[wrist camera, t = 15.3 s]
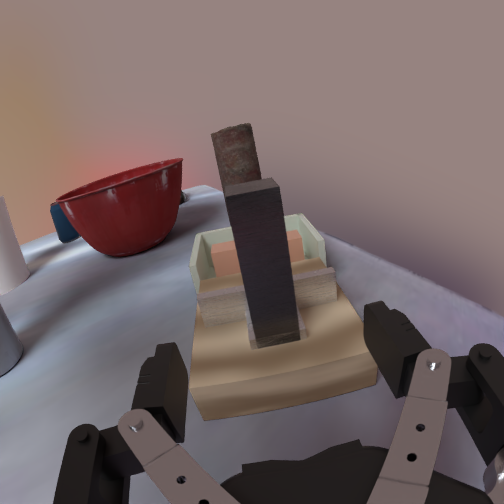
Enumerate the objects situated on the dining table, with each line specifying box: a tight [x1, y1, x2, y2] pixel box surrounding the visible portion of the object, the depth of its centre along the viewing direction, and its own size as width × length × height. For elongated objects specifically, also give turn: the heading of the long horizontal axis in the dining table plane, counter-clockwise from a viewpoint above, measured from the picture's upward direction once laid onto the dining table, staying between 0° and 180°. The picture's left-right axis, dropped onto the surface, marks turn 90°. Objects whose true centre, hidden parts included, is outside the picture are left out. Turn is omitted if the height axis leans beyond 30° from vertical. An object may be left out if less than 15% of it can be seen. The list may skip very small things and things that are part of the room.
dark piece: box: [197, 178, 337, 350], centre depth 25 cm, size 5×12×12 cm, turn 95°
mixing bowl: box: [56, 158, 183, 257], centre depth 65 cm, size 28×28×15 cm
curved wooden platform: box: [189, 257, 378, 421], centre depth 30 cm, size 17×14×4 cm
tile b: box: [286, 230, 305, 263], centre depth 41 cm, size 5×5×3 cm
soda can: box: [50, 202, 80, 243], centre depth 83 cm, size 7×7×12 cm
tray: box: [189, 213, 327, 294], centre depth 43 cm, size 11×16×6 cm
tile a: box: [211, 240, 241, 277], centre depth 42 cm, size 5×5×3 cm
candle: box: [211, 123, 261, 225], centre depth 57 cm, size 8×7×20 cm
